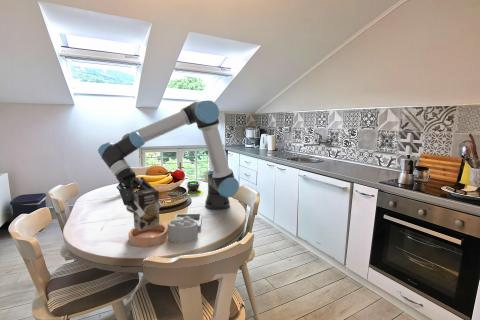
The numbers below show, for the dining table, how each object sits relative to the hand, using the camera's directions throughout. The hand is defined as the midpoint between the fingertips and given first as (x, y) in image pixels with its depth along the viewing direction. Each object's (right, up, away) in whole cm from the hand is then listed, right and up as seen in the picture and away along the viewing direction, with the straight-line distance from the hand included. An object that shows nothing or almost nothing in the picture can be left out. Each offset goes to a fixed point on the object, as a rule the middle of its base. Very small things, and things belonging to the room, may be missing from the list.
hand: (151, 211), depth 109 cm
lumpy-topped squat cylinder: (+13, -13, +5) cm, 19 cm away
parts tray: (+12, -10, +19) cm, 24 cm away
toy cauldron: (+4, -1, +73) cm, 73 cm away
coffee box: (-3, -7, +2) cm, 8 cm away
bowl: (-3, -13, +3) cm, 13 cm away
